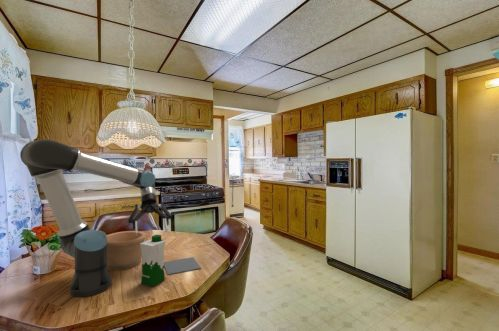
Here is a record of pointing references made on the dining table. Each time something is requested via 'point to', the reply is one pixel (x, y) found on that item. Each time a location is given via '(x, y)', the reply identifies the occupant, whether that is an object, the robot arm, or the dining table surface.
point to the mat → (181, 265)
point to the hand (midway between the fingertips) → (151, 232)
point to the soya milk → (153, 261)
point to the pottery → (124, 249)
